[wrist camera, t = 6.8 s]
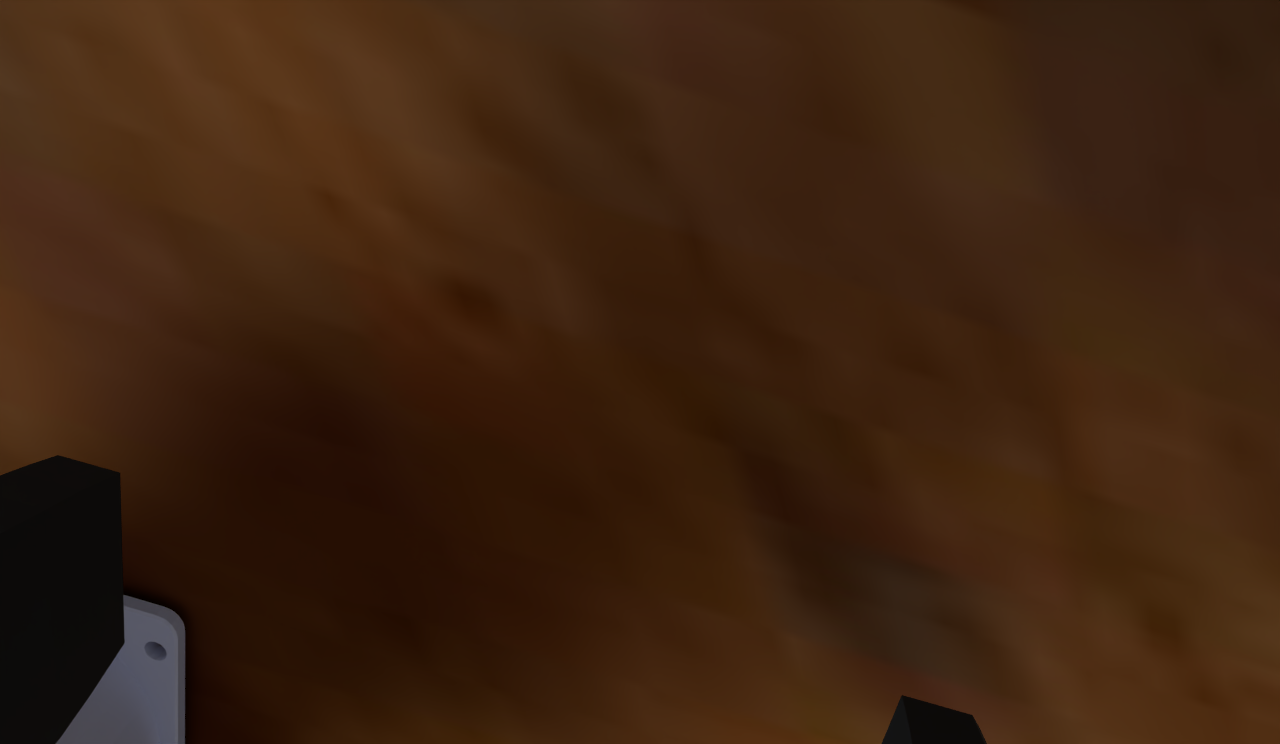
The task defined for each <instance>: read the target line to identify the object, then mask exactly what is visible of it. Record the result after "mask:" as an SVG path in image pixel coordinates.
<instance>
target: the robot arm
mask: <svg viewBox="0 0 1280 744" xmlns="http://www.w3.org/2000/svg"><path fill="white" fill-rule="evenodd" d="M159 644H160V645H162V646H163V647H162V646H160V645H159ZM0 744H185V627H184V623H183V621H182V620H181V618H180V617H179V615H178V614H176V613H175V612H174V611H173V610H171V609H169V608H167V607H164V606H160V605H157V604H154V603H150V602H147V601H143V600H140V599H137V598H133V597H130V596H126V595H123V564H122V527H121V490H120V473H119V472H115V471H112V470H108V469H105V468H101V467H98V466H94V465H91V464H87V463H84V462H80V461H77V460H73V459H70V458H66V457H63V456H59V455H57V456H54V457H51V458H48V459H45V460H42V461H39V462H36V463H33V464H30V465H28V466H25V467H22V468H19V469H17V470H14V471H11V472H8V473H6V474H3V475H1V476H0ZM882 744H987V743H986V741H985V739H984V737H983V734H982V732H981V730H980V728H979V726H978V724H977V723H976V721H975V719H974V717H973V716H972V715H970V714H966V713H963V712H959V711H956V710H952V709H949V708H945V707H942V706H938V705H935V704H931V703H928V702H924V701H921V700H917V699H914V698H910V697H907V696H903V695H902V696H901V699H900V701H899V703H898V706H897V708H896V711H895V713H894V715H893V718H892V720H891V723H890V725H889V727H888V730H887V732H886V735H885V737H884V739H883V742H882Z"/></svg>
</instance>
